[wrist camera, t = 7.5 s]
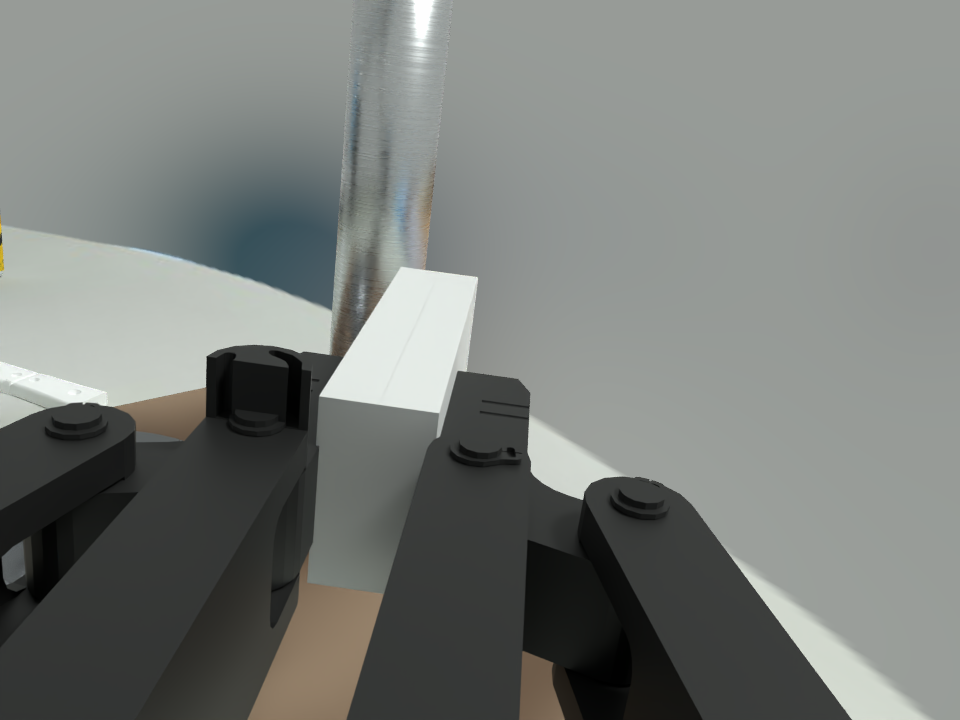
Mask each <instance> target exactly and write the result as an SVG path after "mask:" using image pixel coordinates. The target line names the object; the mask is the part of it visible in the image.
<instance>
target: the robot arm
mask: <svg viewBox="0 0 960 720" xmlns="http://www.w3.org/2000/svg"><path fill="white" fill-rule="evenodd" d="M477 283H478V277H471V276H464V275H457V274H449V273H442V272H435V271H428V270H420V269H413V268H406V267H401V268H400V269H399V271H398V273H397V274H396V276H395V277H394V279H393V280H392V282H391V284H390V285H389V287H388V288H387V290H386V291H385V293H384V295H383V296H382V298H381V299H380V301H379V303H378V304H377V306H376V307H375V309H374V310H373V312H372V314H371V315H370V317H369V318H368V320H367V321H366V323H365V325H364V326H363V328H362V329H361V331H360V332H359V334H358V336H357V337H356V339H355V340H354V342H353V343H352V345H351V347H350V348H349V350H348V351H347V353H346V355H345V356H344V357H340V356H332V355H325V354H318V353H311V352H302V353H297V352H295V351H293V350H289V349H284V348H280V347H275V346H263V345H245V346H233V347H229V348H225V349H221V350H217V351H215V352H214V353H212V354H210V355H208V356H207V369H206V417H205V418H204V419H203V420H202V422H201V423H200V424H199V425H198V426H197V427H196V428H195V429H194V430H193V432H192V433H191V434H190V435H189V436H188V437H187V438H186V439H185V441H173V442H136V421H135V420H134V419H133V418H132V417H131V416H130V414H129V413H126V412H124V411H122V410H119V409H117V408H114V407H108V406H102V405H99V404H98V403H88V402H86V403H85V404H83V402H79V403H69V404H67V405H66V406H59V407H52V408H49V409H46V410H43V411H40V412H37V413H34V414H31V415H29V416H27V417H25V418H23V419H20V420H18V421H16V422H14V423H12V424H10V425H8V426H6V427H3V428H1V429H0V720H248V717H249V715H250V713H251V710H252V708H253V706H254V704H255V701H256V699H257V697H258V694H259V692H260V690H261V687H262V685H263V683H264V681H265V678H266V676H267V674H268V671H269V669H270V667H271V664H272V662H273V660H274V658H275V655H276V653H277V651H278V648H279V646H280V644H281V641H282V639H283V637H284V635H285V632H286V630H287V628H288V625H289V623H290V621H291V618H292V616H293V614H294V612H295V609H296V607H297V605H298V595H299V580H300V569H301V567H302V565H303V563H304V561H305V559H306V557H307V554H308V552H309V562H308V578H307V583H312V584H319V585H326V586H333V587H339V588H346V589H353V590H360V591H367V592H374V593H380V594H384V595H383V598H382V602H381V605H380V608H379V612H378V615H377V618H376V622H375V625H374V628H373V632H372V635H371V639H370V642H369V645H368V649H367V652H366V655H365V659H364V662H363V665H362V669H361V672H360V675H359V679H358V682H357V685H356V689H355V692H354V696H353V699H352V702H351V706H350V709H349V712H348V716H347V719H346V720H519V716H520V694H521V672H522V651H524V652H527V653H529V654H532V655H534V656H537V657H540V658H542V659H545V660H547V661H550V662H552V663H553V666H552V681H553V686H554V689H555V692H556V695H557V698H558V701H559V704H560V707H561V710H562V713H563V716H564V719H565V720H852V719H851V718H850V717H849V715H848V714H847V713H846V711H845V710H844V709H843V707H842V706H841V705H840V703H839V702H838V701H837V699H836V698H835V696H834V695H833V694H832V692H831V691H830V690H829V688H828V687H827V686H826V684H825V683H824V682H823V680H822V679H821V678H820V676H819V675H818V674H817V672H816V671H815V670H814V668H813V667H812V666H811V664H810V663H809V662H808V660H807V659H806V658H805V656H804V655H803V654H802V652H801V651H800V649H799V648H798V647H797V645H796V644H795V643H794V641H793V640H792V639H791V637H790V636H789V635H788V633H787V632H786V631H785V629H784V628H783V627H782V625H781V624H780V623H779V621H778V620H777V619H776V617H775V616H774V615H773V613H772V612H771V611H770V609H769V608H768V606H767V605H766V604H765V602H764V601H763V600H762V598H761V597H760V596H759V594H758V593H757V592H756V590H755V589H754V588H753V586H752V585H751V584H750V582H749V581H748V580H747V578H746V577H745V576H744V574H743V573H742V572H741V570H740V569H739V568H738V566H737V565H736V563H735V562H734V561H733V559H732V558H731V557H730V555H729V554H728V553H727V551H726V550H725V549H724V547H723V546H722V545H721V543H720V542H719V541H718V539H717V538H716V537H715V535H714V534H713V533H712V531H711V530H710V529H709V527H708V526H707V525H706V523H705V522H704V521H703V519H702V518H701V516H700V515H699V514H698V512H697V511H696V510H695V508H694V507H693V506H692V505H691V504H690V503H689V502H688V501H687V500H686V499H685V498H684V497H683V496H682V495H680V494H679V493H677V492H675V491H673V490H671V489H669V488H667V487H665V486H664V485H663V484H661V483H659V482H656V481H653V480H652V481H649V479H645V478H641V477H635V478H630V477H611V478H603V479H601V480H598V481H596V482H593V483H591V484H590V485H589V487H588V488H587V489H586V491H585V493H584V498H583V500H580V499H577V498H574V497H571V496H568V495H565V494H563V493H560V492H558V491H555V490H553V489H551V488H550V487H548V486H546V485H544V484H543V483H541V482H540V481H539V480H538V479H537V478H535V477H534V476H533V474H532V473H531V472H530V471H531V461H530V458H529V456H528V453H527V448H528V427H529V407H530V405H529V404H530V392H529V391H528V390H527V389H526V388H525V386H524V385H523V384H522V383H521V382H520V381H519V380H518V379H514V378H507V377H499V376H492V375H485V374H478V373H471V372H466V371H467V363H468V355H469V346H470V339H471V330H472V322H473V315H474V307H475V299H476V291H477ZM21 541H23V548H24V563H25V575H23V576H22V577H20V578H19V579H17V580H16V581H14V582H13V583H10V584H7V585H6V584H5V581H4V579H3V567H2V557H3V556H4V555H5V554H6V553H7V552H8V551H9V550H10V549H11V548H12V547H13V546H15V545H17V544H18V543H20V542H21Z"/></svg>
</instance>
